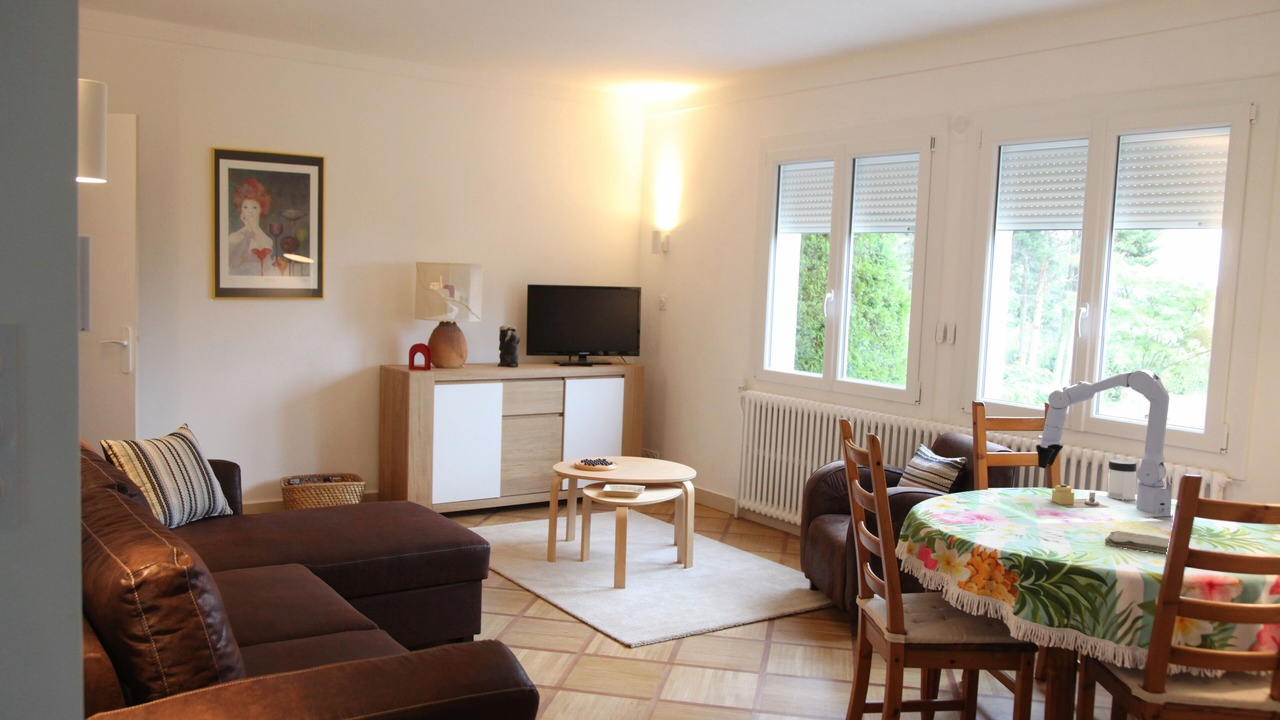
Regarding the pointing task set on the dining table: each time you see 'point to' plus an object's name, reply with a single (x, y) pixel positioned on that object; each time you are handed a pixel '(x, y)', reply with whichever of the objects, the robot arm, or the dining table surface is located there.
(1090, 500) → the stud
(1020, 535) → the dining table surface
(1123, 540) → the washcloth
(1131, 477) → the jar
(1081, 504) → the board
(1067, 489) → the yellow socket block
